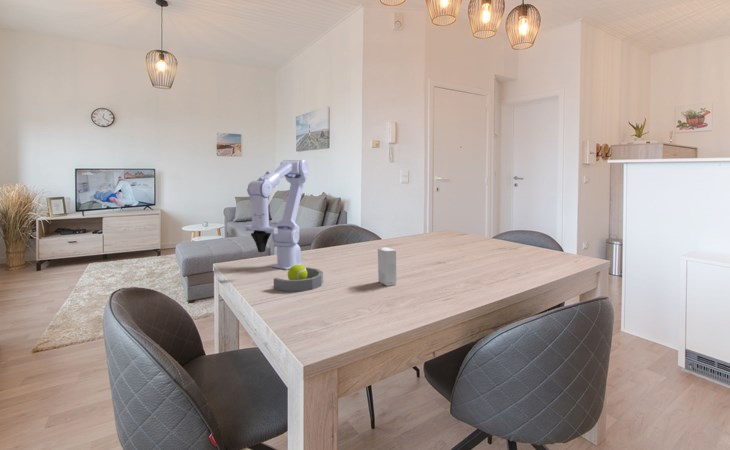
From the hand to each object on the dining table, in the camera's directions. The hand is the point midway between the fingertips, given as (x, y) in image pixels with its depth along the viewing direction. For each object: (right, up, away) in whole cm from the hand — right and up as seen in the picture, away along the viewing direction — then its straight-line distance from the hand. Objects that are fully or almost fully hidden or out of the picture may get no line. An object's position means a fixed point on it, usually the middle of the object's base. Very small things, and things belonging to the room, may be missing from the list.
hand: (261, 251), depth 135 cm
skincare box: (+45, -11, -5) cm, 47 cm away
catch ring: (+17, -11, -8) cm, 21 cm away
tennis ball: (+14, -11, -7) cm, 19 cm away
